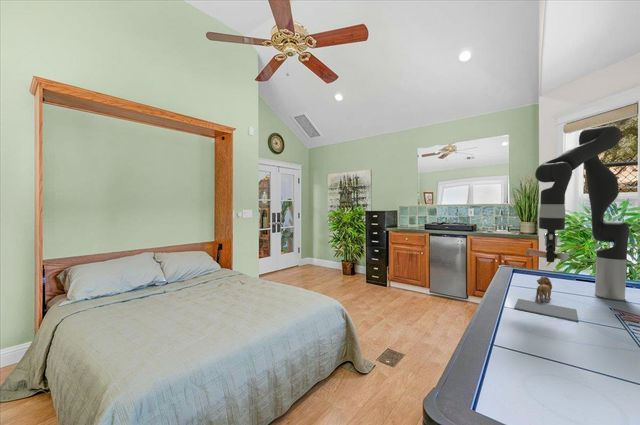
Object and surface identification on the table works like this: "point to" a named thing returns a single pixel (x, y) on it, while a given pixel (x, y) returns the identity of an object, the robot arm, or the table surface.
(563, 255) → the grandmother figurine
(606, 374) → the table surface
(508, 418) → the table surface
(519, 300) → the mat
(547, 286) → the lion figurine
